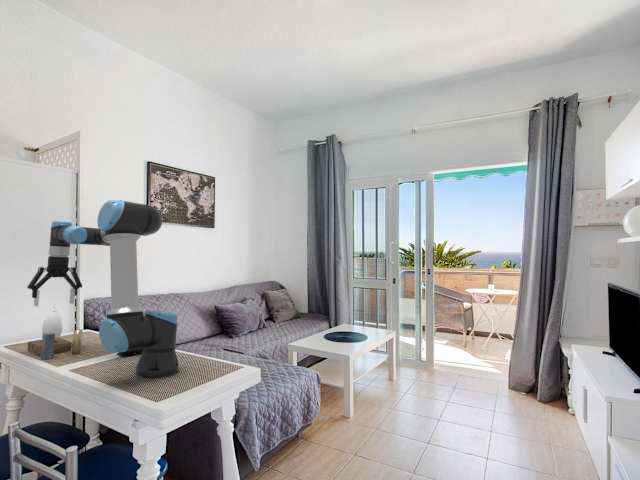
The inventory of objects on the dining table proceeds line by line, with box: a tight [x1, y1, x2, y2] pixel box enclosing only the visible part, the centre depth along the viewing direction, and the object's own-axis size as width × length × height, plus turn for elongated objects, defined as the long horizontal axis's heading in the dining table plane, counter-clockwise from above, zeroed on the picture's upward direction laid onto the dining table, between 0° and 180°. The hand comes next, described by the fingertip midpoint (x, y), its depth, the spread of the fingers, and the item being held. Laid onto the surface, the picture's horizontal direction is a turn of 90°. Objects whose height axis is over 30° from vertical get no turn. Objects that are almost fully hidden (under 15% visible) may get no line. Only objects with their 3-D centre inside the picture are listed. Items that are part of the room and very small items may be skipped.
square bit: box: [39, 333, 55, 361], centre depth 153 cm, size 3×3×10 cm
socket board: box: [27, 337, 73, 357], centre depth 164 cm, size 12×12×4 cm
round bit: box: [71, 329, 83, 356], centre depth 162 cm, size 3×3×10 cm
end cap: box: [116, 348, 143, 357], centre depth 166 cm, size 10×7×7 cm
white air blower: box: [41, 304, 63, 338], centre depth 179 cm, size 8×8×18 cm
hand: (54, 304), depth 164 cm, fingers open, 13 cm apart
